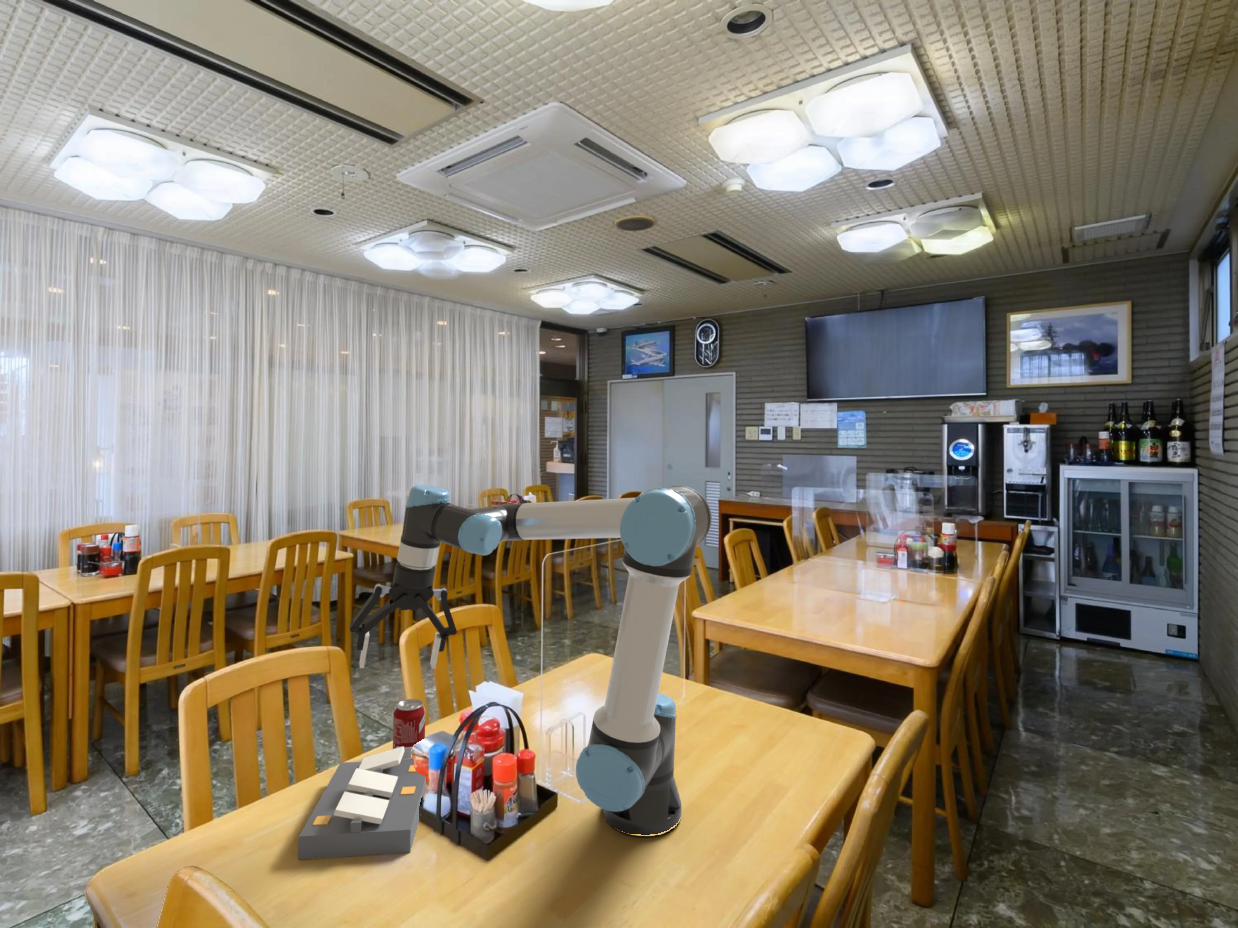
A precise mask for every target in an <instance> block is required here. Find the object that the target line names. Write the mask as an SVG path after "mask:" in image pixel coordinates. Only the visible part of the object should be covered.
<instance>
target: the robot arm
mask: <svg viewBox="0 0 1238 928" xmlns="http://www.w3.org/2000/svg"><path fill="white" fill-rule="evenodd" d="M408 494H409V495H408V498H407V501H406V505H405V511H404V517H403V518H404V519H403V525H402V533H401V537H400V542H399V546H398V552H397V557H396V560H397V562H396V563H395V567H394V574H393V578H392V579H393V580H392V583H391V584H390V585H389V586H388V585H382V584H381V582H377V583H375V584H374V587H373V590H372V593H371V594H370V596H369V597H368V599H367V600H366V601H365V603H364V604H363V605H362V606H361V608H360V609H359V610H358V612H357V613H356V614H355V616H354V617H353V619H352V620H351V621H350V622H349V631H350V632H351V633H356V634H357V638H356V639H357V640H356V646H355V647H356V650H357V651H360V656H359V669H364V668H365V664H366V659H367V652H368V648H369V640H370V631H371V630H372V629H373V628H375V627H376V626H377V625H378V624H379V623H380V622H381V621H382V620H384V619H385V618H387V616H388V615H389V614H391V613H393V612H394V611H396V610H397V609H399V610H400V611H407V610H410V611H412V612H413V611H415V612H418V610H422V611H423V613H424V614H425V615H426V617H427V618H428V620H429V621H430V622H431V623H432V625H433V627H434V628H435V629H436V631H437V632H435V635H434V640H433V644H432V645H433V646H432V650H431V656H430V660H429V661H430V662H429V663H430V668H431V669H432V670H436V669H437V664H438V658H439V653H440V652H441V653H443V652H444V650H445V647H446V643H447V642H446V641H447V639H448V638H449V636H451V635H452V636H456V634H457V633H458V630H457V628H456V624H455V622H454V618H453V616H452V612H451V610H450V606H449V604H448V593H449V592H448V591H447V588H446V587H445V586H441V587H440V588H433V586H434V585H433V584H434V580H435V574H436V569H437V568H436V567H435V566H436V565H438V564H437V563H438V559H439V558H438V557H439V553H440V552H439V550H440V547H441V543H443V544H446V545H449V546H452V547H454V548H456V549H459V550H462V551H465V552H467V553H470V554H475V555H480V556H488V555H490V554H491V553H493V552H494V550H496V548H497V547H498V546H499V544H500V543H501V542H507V541H508V542H509V541H526V540H529V541H530V540H531V541H532V540H574V539H575V540H577V539H617V538H618V539H619V538H620V541H621V543H622V545H623V546H624V549H623V556H622V560H621V562H622V565H623V566H624V568H625V569H626V571H628V572H627V573H628V577H627V584H626V589H625V593H624V594H625V595H624V599H623V605H622V610H621V616H620V621H619V626H618V633H617V638H616V642H615V643H616V644H615V648H614V653H613V658H612V663H611V664H612V665H611V670H610V674H609V675H610V676H609V680H608V686H607V691H606V697H605V701H604V705H602V706H600V707H599V708H597V710H595V712H594V715H593V718H592V723H591V724H592V725H591V729H590V735H589V739H588V743H587V746H585V747H584V748H583V749H581V752H580V753H579V756H578V759H577V761H576V763H575V777H576V781H577V784H578V786H579V788H580V789H581V790H582V791H583V794H584V795H585V796H586V798H587V799H588V800H589V801H590V802H591V803H592V804H593V805H595V806H596V807H598V808H600V809H602V813H603V814H604V815H603V814H602V815H603V818H604V817H605V818H604V820H605V819H606V820H605V821H606V823H607V822H608V823H609V824H610V825H611V826H610V825H609V824H608V823H607V824H608V825H609V826H610V827H611V828H613V827H614V828H616V829H618V830H620V831H623V832H625V833H629V834H641V835H650V834H658V833H661V832H664V831H667V830H669V829H670V828H671V827H673V826H674V825H676V823H678V821H679V819H680V817H681V818H682V801H681V797H680V793H679V790H678V786H677V782H676V778H675V777H674V776H675V775H674V772H675V771H674V770H675V767H674V766H675V751H676V750H675V747H676V746H675V744H676V719H677V709H676V703H675V701H674V700H673V698H671V697H670V696H668V695H666V694H663V693H660V692H659V690H660V687H661V681H662V675H663V671H664V667H665V665H664V664H665V661H666V656H667V655H666V654H667V650H668V645H669V638H670V635H671V630H672V624H673V619H674V614H675V609H676V603H677V598H678V593H679V588H680V584H681V583H683V582H684V581H686V580H687V579H689V578H690V577H691V574H692V570H693V564H694V561H695V555H696V549H697V546H698V545H700V544H701V543H702V542H703V541H704V540H705V539H706V537H707V536H708V534H709V532H710V530H711V526H712V511H711V508H710V505H709V503H708V501H707V499H706V498H705V497H704V495H702V494H701V493H700V492H699V491H697V490H696V489H693V488H691V487H689V486H685V485H672V486H669V487H664V488H663V487H657V488H653V489H649V490H647V491H643V492H641V493H640V494H639V495H637V496H636V497H626V498H625V497H624V498H623V497H621V498H609V499H608V498H607V499H606V498H604V499H602V498H601V499H584V500H568V501H567V500H566V501H565V500H564V501H546V502H545V501H543V502H528V503H527V502H526V503H515V502H507V503H502V504H498V505H494V506H493V505H492V506H485V507H479V508H478V507H477V508H472V509H471V508H466V507H462V506H458V505H455V504H452V503H451V502H450V492H449V491H448V490H447V489H445V488H442V487H439V486H434V485H430V484H429V485H428V484H418V485H414V486H412V487H411V488H410V490H409V493H408ZM387 594H389V596H390V598H389V599H388V600H387V601H386V603H385V604H383V605H382V606H381V607H380V608H379V609H377V611H375V612H374V613H373V614H372V615H371V616H370V617H369V618H367V617H368V615H369V614H370V613H371V611H373V608H374V607H375V606H376V605H377V603H378V602H379V601H380V598H383V597H384V596H386V595H387ZM434 596H435V597H436V600H437V601H439V602H440V605H441V607H442V611H443V614H444V617H445V620H446V623H447V625H448V626H446V627H445V625H444V624H443V623H442V621H441V620H440V619H439V617H438V616H437V614H436V613H435V611H434V610H433V609H432V607H431V606H430V604H429V601H430V600H431V599H432V598H433V597H434ZM366 618H367V619H366ZM365 619H366V620H365ZM614 828H613V829H614ZM616 829H615V830H616ZM618 830H617V831H618ZM620 831H619V832H620Z"/></svg>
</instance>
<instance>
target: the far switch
mask: <svg viewBox="0 0 1238 928" xmlns="http://www.w3.org/2000/svg"><path fill="white" fill-rule="evenodd" d="M404 751H405V750H404V746H402V747H399V748H395V749H393V748H392V749H390V750H387V751H385V750H384V751H382V752H378V753H376V754H372V755H369V756H365V757H363V759H362V761H361V762H362V763H361V765H360V767H359V769H363V770H368V771H373V772H374V771H379V770H383V769H386V768H389V767H393V766H396V765H399V764H400V762H401V759H402V756H403V754H404Z"/></svg>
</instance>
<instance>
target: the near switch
mask: <svg viewBox="0 0 1238 928" xmlns="http://www.w3.org/2000/svg"><path fill="white" fill-rule="evenodd" d="M388 803H389V800H385V799H380V798H375V797H370V796H365V795H359V794H354V793H349V792H344V794H343V796H342V798H341V800H340V802H339V804H338V806H337V808H336V810H335V813H334V815H335V816H340V817H345V818H350V819H354V820H362V821H366V822H371V823H376V824H381V823H382V820H383V817H384V815H385V812H386V809H387V807H388Z"/></svg>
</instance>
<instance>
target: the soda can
mask: <svg viewBox="0 0 1238 928" xmlns="http://www.w3.org/2000/svg"><path fill="white" fill-rule="evenodd" d="M426 713H427V712H426V708H425V706H424V703H423V700H421V699H417V698H407V699H403V700H400V701H399V702H397V704H396V709H395V710H394V711H393V720H392V722H393V723H392V725H393V726H392V749H395V748H399V747H402V746H404V750H405V751H404V754H403V756H402V759H401V760H409V759H412V757H411V754H410V753H411V749H412V747H413V745H414V744H416V743H417V742H419V741H421V740H422V739H424V738H425V739H426Z"/></svg>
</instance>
